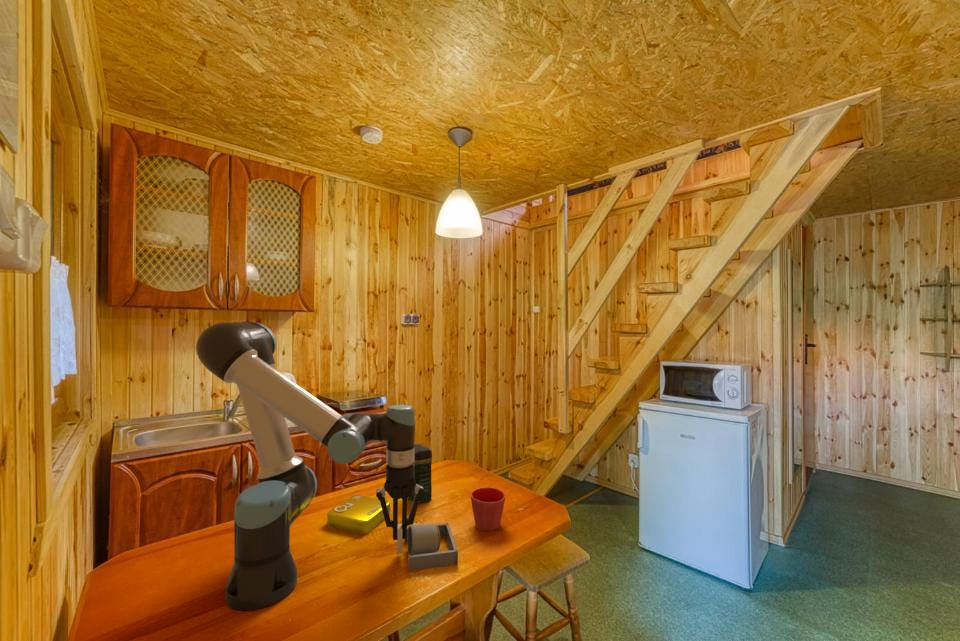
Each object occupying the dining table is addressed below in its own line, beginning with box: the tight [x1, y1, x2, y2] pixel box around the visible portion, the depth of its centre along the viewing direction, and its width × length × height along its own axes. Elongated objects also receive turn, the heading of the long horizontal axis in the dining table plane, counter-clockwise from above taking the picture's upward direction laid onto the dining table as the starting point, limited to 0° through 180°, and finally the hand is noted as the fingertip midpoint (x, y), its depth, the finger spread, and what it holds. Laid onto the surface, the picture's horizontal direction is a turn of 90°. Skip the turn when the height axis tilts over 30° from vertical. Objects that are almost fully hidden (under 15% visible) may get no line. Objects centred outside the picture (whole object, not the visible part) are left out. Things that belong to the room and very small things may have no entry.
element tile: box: [326, 494, 391, 535], centre depth 132 cm, size 15×15×5 cm
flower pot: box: [470, 486, 506, 532], centre depth 129 cm, size 11×11×10 cm
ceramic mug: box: [406, 523, 441, 556], centre depth 115 cm, size 11×8×8 cm
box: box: [404, 522, 459, 572], centre depth 114 cm, size 13×15×4 cm
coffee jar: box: [407, 443, 433, 503], centre depth 147 cm, size 10×8×19 cm
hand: (399, 550), depth 111 cm, fingers closed
